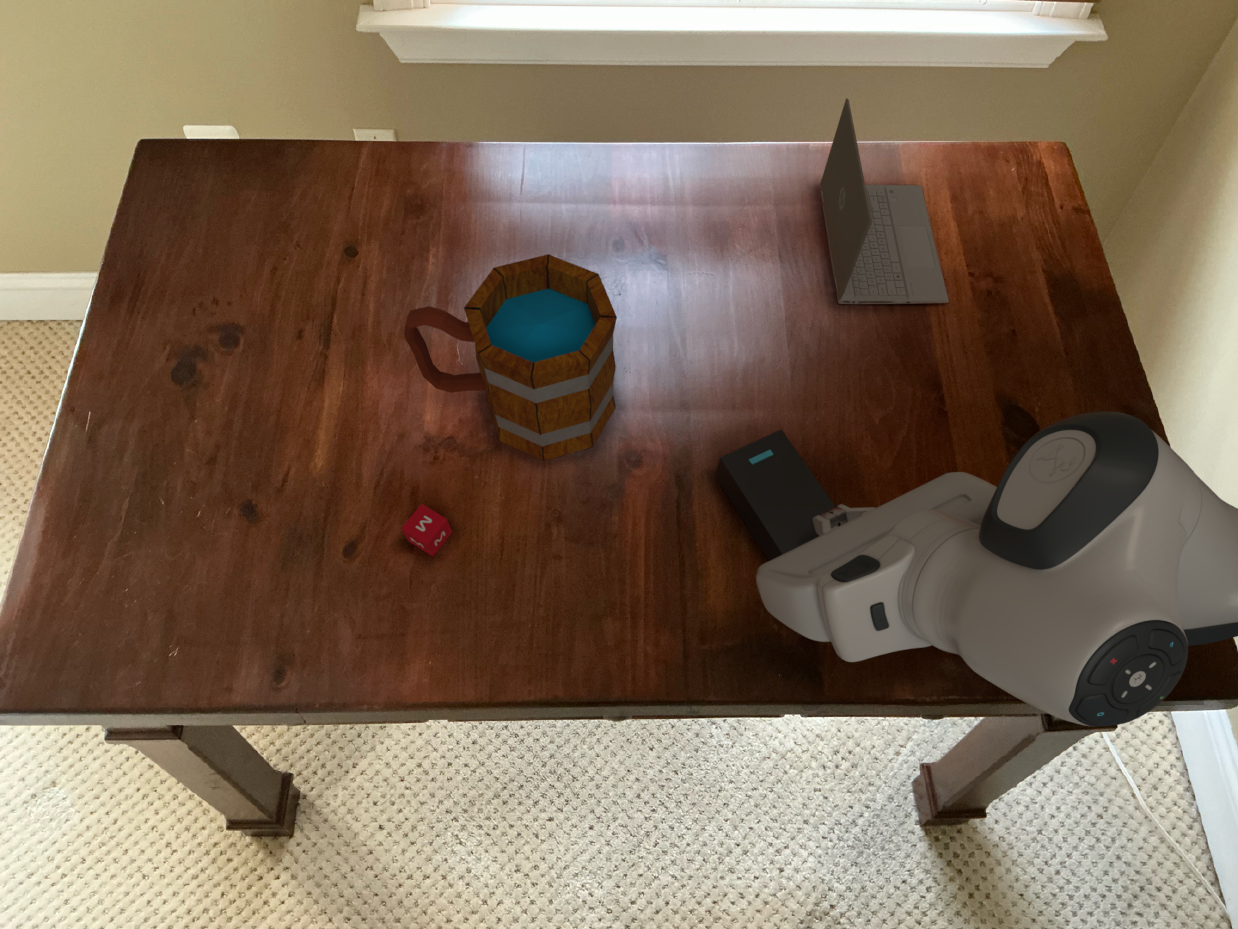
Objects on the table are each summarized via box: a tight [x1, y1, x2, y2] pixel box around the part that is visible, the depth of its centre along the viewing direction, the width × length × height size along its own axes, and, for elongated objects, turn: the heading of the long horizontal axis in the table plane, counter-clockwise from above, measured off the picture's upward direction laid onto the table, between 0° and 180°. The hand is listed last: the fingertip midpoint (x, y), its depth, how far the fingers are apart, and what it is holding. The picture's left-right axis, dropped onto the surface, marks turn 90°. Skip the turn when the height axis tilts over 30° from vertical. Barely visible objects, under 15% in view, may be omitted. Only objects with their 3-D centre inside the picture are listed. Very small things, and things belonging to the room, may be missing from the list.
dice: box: [401, 503, 453, 557], centre depth 77 cm, size 3×3×3 cm
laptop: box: [819, 97, 950, 305], centre depth 91 cm, size 18×13×13 cm
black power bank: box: [714, 428, 837, 561], centre depth 78 cm, size 4×7×14 cm
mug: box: [403, 254, 618, 462], centre depth 79 cm, size 20×14×15 cm
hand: (827, 518), depth 71 cm, fingers closed
